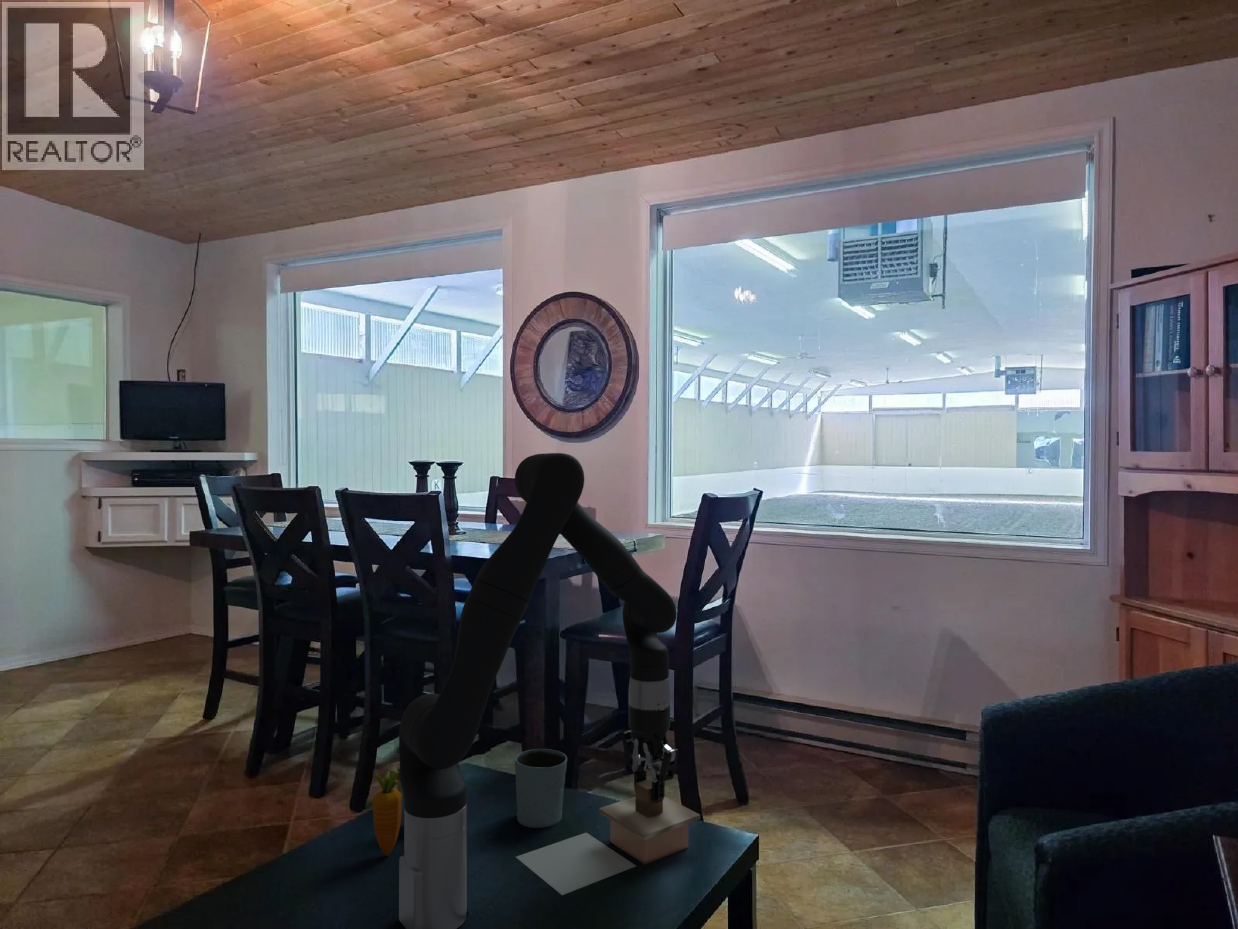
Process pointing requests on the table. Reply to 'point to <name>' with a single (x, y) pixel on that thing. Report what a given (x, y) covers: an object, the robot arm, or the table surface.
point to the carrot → (387, 812)
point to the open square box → (649, 843)
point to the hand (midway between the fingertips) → (649, 796)
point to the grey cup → (540, 787)
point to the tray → (575, 863)
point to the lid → (648, 813)
